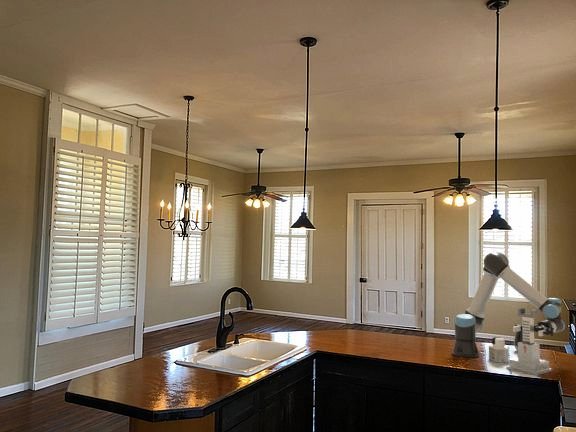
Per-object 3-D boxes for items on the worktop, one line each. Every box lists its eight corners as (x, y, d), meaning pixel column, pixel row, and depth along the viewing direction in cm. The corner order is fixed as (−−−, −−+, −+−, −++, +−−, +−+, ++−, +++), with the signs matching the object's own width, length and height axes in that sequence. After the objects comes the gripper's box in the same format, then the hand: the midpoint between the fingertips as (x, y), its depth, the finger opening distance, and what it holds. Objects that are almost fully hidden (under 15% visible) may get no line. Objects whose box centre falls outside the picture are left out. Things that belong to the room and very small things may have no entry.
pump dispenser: (528, 349, 290) (527, 325, 291) (535, 353, 280) (534, 328, 281) (511, 349, 291) (510, 325, 292) (517, 353, 281) (517, 328, 282)
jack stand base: (506, 368, 246) (505, 339, 247) (522, 364, 255) (521, 336, 256) (536, 375, 233) (535, 345, 234) (552, 370, 242) (551, 341, 243)
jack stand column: (519, 365, 246) (518, 308, 248) (524, 364, 249) (522, 307, 251) (534, 369, 240) (532, 310, 241) (539, 367, 242) (537, 309, 244)
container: (488, 358, 266) (488, 336, 267) (501, 358, 267) (501, 336, 268) (495, 362, 259) (495, 339, 259) (509, 362, 259) (508, 339, 260)
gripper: (570, 338, 245) (550, 343, 233) (523, 330, 266) (503, 334, 254) (569, 324, 246) (550, 328, 234) (523, 317, 266) (503, 320, 254)
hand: (526, 331), depth 244 cm, fingers open, 13 cm apart
